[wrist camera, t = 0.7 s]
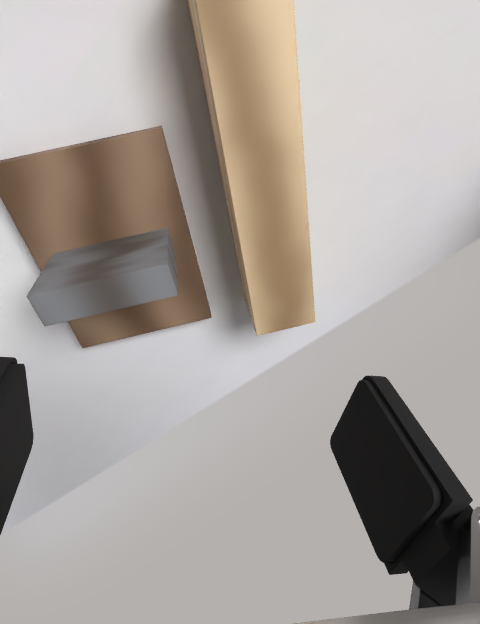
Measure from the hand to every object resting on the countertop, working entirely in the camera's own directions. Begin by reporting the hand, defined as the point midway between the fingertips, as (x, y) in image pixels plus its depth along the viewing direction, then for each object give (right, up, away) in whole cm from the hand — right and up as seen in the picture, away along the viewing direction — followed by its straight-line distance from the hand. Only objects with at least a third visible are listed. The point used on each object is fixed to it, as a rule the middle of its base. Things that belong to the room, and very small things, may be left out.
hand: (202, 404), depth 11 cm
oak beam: (+2, +14, +18) cm, 23 cm away
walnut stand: (-9, +8, +20) cm, 23 cm away
